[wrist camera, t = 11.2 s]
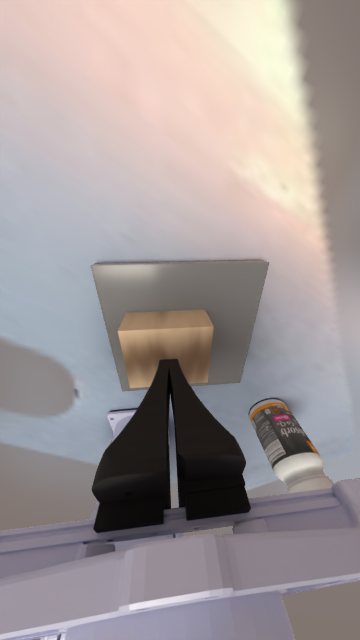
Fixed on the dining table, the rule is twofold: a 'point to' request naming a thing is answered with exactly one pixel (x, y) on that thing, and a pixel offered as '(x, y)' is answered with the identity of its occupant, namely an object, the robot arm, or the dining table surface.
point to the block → (166, 344)
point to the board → (186, 304)
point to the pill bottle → (288, 447)
